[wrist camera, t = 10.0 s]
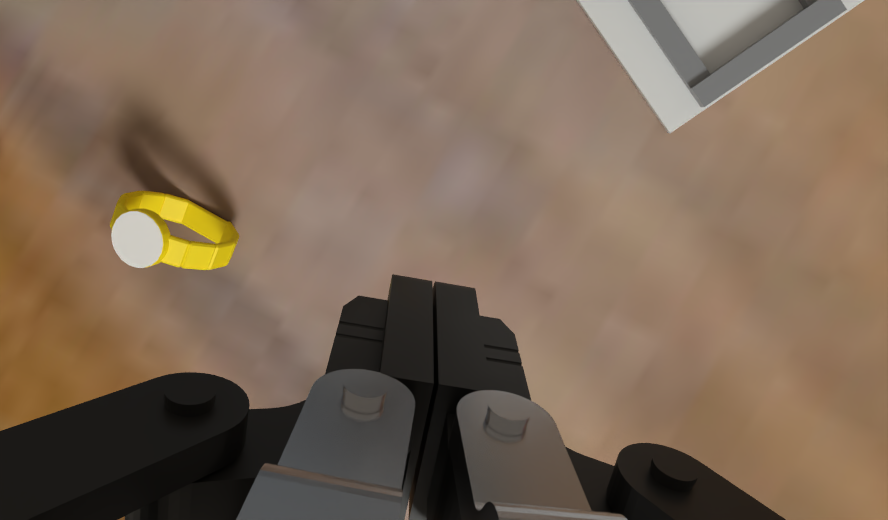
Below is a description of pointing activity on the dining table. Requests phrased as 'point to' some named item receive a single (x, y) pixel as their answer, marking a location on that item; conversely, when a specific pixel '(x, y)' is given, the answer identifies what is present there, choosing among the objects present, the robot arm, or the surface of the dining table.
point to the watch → (149, 239)
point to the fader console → (703, 44)
